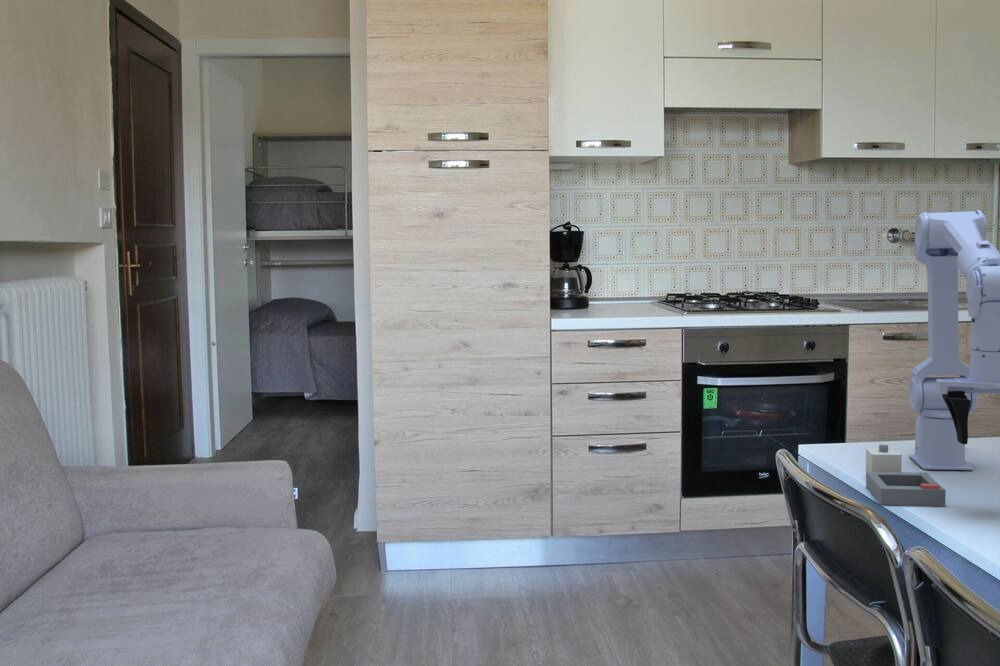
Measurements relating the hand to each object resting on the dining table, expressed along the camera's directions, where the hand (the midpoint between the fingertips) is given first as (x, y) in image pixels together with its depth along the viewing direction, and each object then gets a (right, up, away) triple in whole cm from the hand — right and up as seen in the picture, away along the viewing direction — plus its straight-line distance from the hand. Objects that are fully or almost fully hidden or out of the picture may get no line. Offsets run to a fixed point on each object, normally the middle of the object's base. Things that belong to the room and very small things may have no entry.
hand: (991, 442), depth 126 cm
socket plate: (-8, -9, +9) cm, 16 cm away
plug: (-8, -9, +18) cm, 22 cm away
